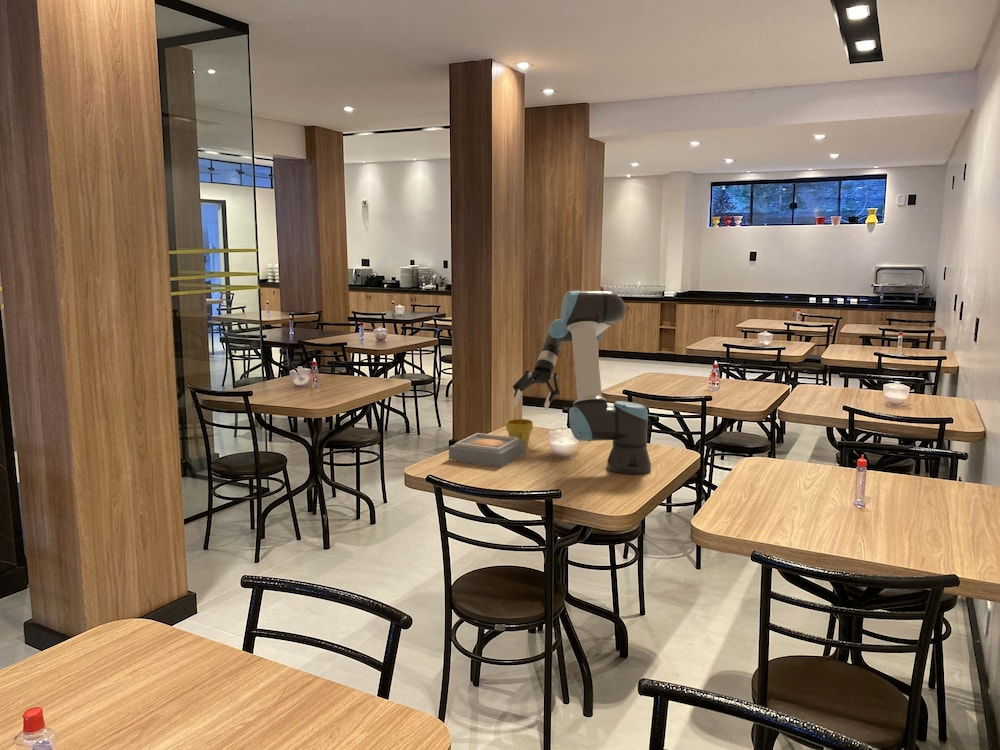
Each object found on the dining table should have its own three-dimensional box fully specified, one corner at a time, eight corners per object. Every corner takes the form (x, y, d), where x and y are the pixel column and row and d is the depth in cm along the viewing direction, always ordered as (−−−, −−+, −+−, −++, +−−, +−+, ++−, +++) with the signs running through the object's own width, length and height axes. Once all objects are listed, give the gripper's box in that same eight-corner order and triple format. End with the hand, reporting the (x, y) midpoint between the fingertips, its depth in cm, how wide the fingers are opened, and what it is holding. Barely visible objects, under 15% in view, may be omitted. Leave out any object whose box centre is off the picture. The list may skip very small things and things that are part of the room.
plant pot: (502, 448, 281) (502, 423, 279) (510, 441, 291) (510, 417, 289) (528, 450, 278) (528, 425, 276) (535, 444, 288) (535, 419, 286)
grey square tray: (525, 453, 273) (525, 437, 272) (501, 467, 254) (501, 450, 253) (475, 447, 282) (475, 431, 281) (449, 460, 263) (448, 443, 262)
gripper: (576, 372, 299) (561, 414, 288) (521, 367, 310) (505, 408, 300) (571, 360, 294) (556, 403, 283) (516, 356, 305) (499, 397, 294)
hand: (530, 406), depth 291 cm, fingers open, 13 cm apart
